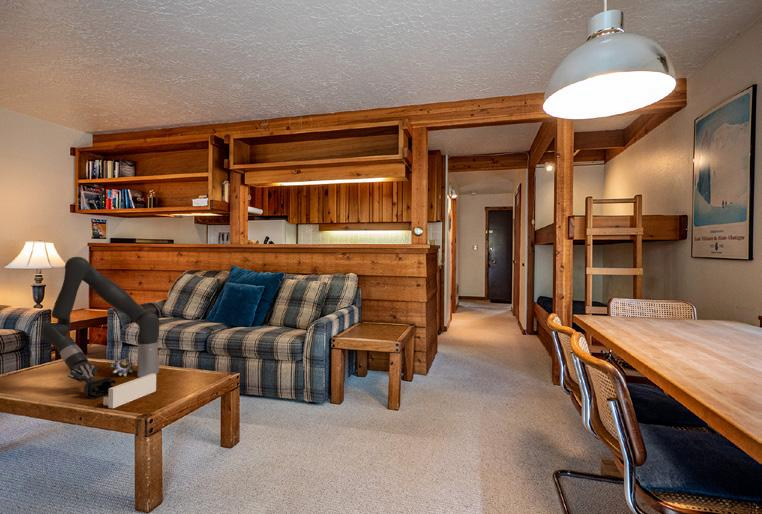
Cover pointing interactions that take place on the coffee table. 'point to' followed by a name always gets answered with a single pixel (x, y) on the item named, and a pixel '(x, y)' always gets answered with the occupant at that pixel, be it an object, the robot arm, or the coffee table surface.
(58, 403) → the coffee table surface
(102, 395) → the end cap
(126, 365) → the passion flower
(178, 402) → the coffee table surface
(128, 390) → the white board with feet
